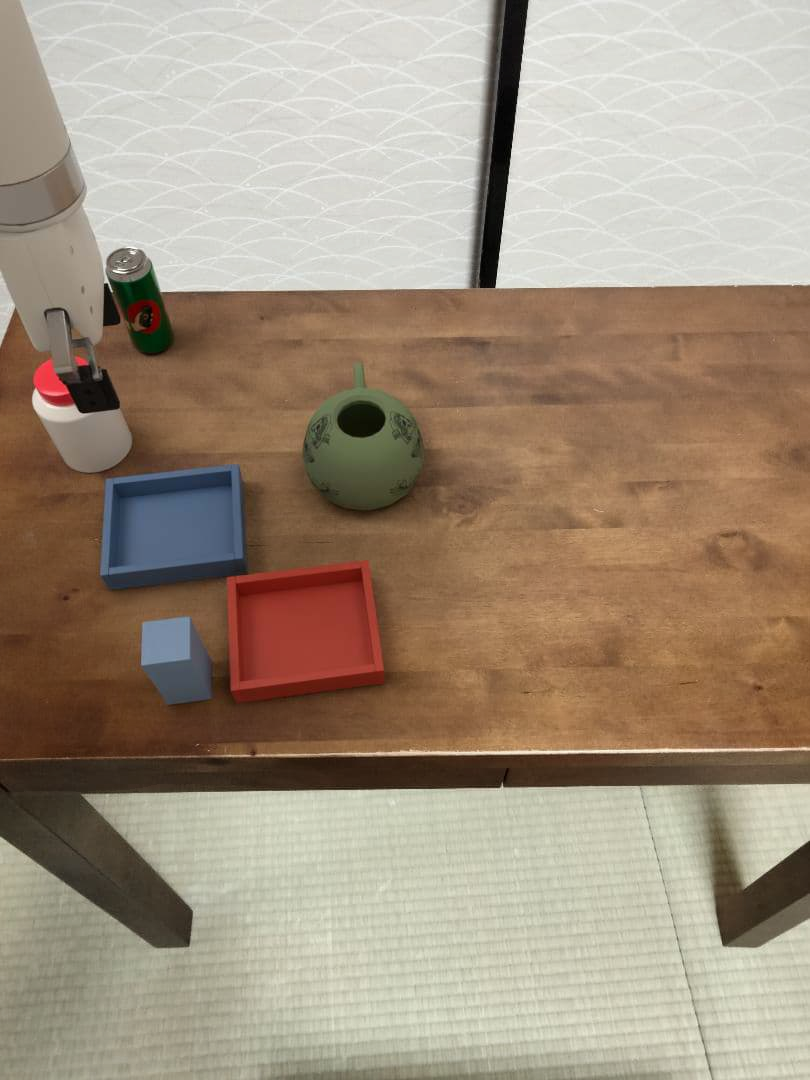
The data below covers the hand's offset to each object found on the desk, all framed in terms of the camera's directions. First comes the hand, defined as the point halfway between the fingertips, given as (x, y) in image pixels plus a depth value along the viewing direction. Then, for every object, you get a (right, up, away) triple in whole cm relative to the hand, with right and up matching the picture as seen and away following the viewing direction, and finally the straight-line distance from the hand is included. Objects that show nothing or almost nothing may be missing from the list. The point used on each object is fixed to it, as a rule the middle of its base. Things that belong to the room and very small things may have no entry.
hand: (101, 365), depth 68 cm
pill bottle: (-9, -4, +23) cm, 25 cm away
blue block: (+5, -28, +8) cm, 29 cm away
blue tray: (+2, -14, +16) cm, 22 cm away
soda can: (-5, +9, +31) cm, 33 cm away
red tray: (+16, -24, +10) cm, 30 cm away
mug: (+21, -6, +22) cm, 31 cm away
